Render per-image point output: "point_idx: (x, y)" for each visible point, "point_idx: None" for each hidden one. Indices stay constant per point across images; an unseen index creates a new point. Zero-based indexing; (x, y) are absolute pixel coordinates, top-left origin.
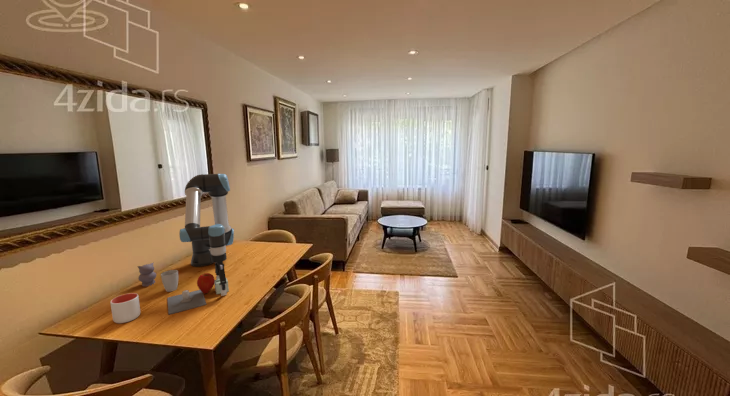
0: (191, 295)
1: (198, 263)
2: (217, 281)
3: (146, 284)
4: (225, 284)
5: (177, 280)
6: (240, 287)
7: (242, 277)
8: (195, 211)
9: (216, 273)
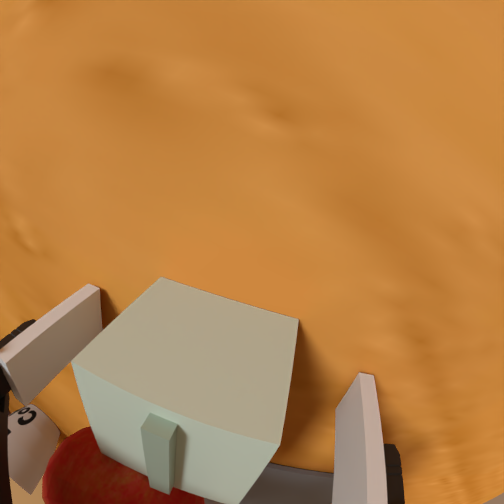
0: None
1: None
2: (173, 481)
3: None
4: (381, 490)
5: (23, 441)
6: (309, 149)
7: (51, 42)
8: None
9: (6, 429)
